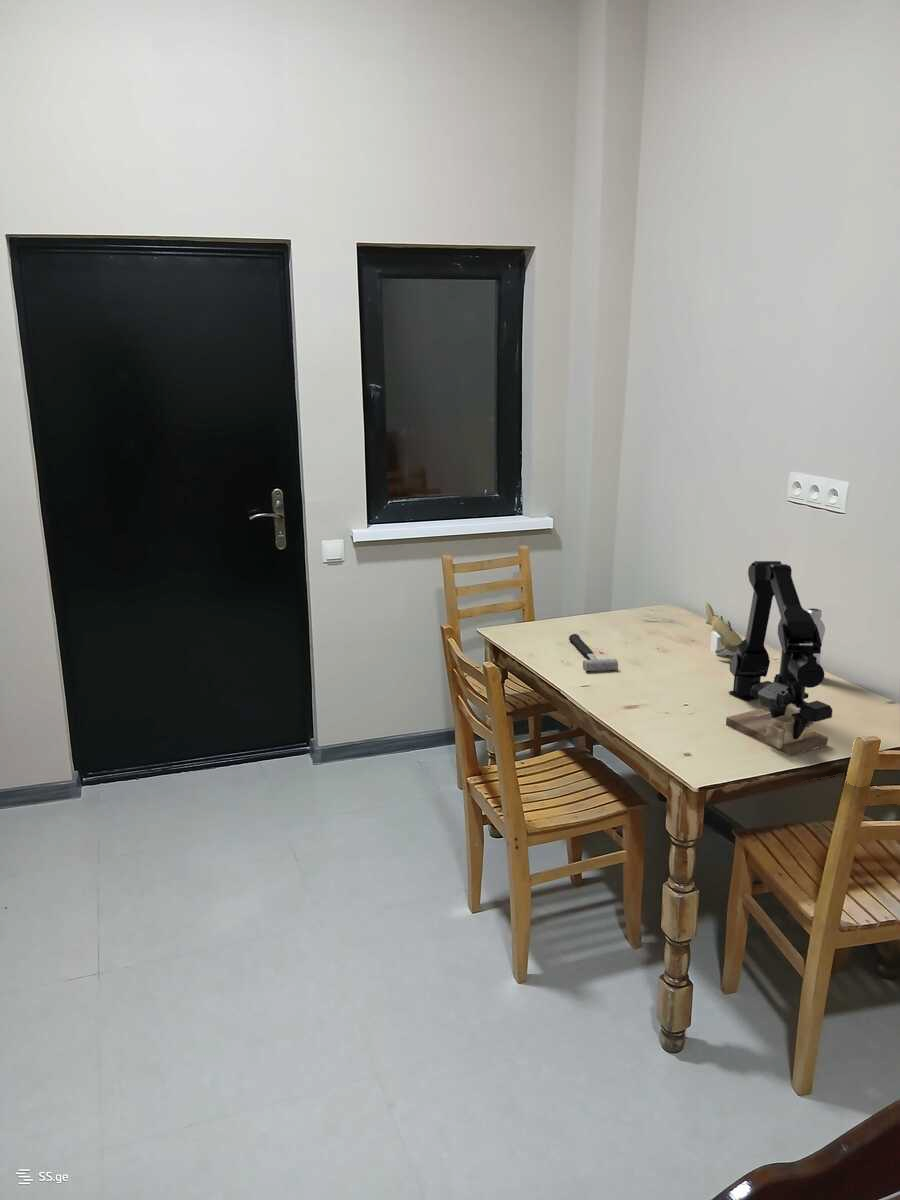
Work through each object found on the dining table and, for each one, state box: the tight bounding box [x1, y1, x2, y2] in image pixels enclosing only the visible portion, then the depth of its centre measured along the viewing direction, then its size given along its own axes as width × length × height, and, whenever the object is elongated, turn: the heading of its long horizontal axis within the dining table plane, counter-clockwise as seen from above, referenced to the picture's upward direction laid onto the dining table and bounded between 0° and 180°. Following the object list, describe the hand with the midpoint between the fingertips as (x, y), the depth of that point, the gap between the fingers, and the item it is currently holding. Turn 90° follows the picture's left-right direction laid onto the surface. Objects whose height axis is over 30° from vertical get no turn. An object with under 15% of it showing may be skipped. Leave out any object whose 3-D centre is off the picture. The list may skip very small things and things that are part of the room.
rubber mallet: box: [568, 633, 619, 672], centre depth 259 cm, size 10×4×30 cm
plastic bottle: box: [800, 608, 826, 667], centre depth 236 cm, size 6×7×20 cm
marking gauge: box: [766, 713, 814, 749], centre depth 194 cm, size 4×12×6 cm, turn 117°
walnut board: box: [725, 708, 829, 757], centre depth 201 cm, size 20×12×2 cm, turn 27°
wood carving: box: [705, 601, 744, 657], centre depth 261 cm, size 9×35×11 cm, turn 179°
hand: (786, 734), depth 194 cm, fingers open, 5 cm apart
